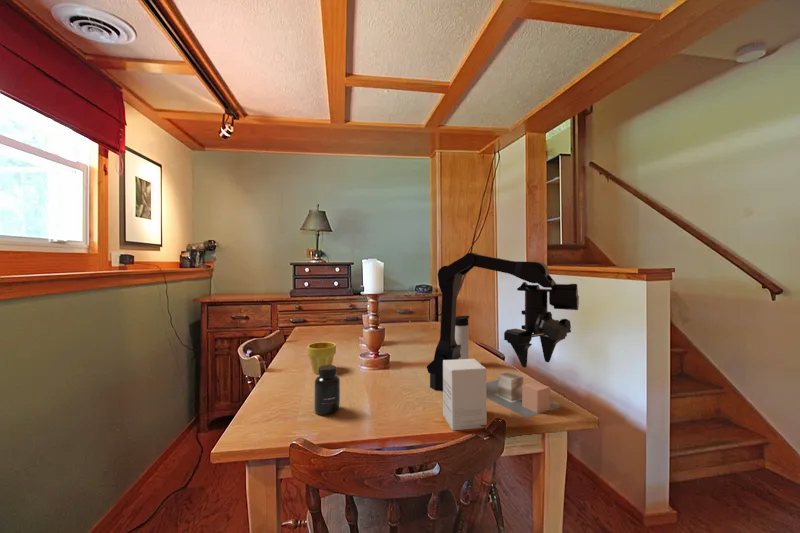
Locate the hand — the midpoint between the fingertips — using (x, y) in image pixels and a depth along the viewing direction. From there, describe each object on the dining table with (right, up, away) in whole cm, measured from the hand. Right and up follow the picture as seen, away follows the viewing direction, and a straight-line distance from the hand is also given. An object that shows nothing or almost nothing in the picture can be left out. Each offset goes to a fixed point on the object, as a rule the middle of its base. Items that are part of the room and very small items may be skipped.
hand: (536, 364), depth 93 cm
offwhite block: (-4, -12, +8) cm, 15 cm away
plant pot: (-67, -13, +34) cm, 76 cm away
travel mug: (-14, -12, +38) cm, 42 cm away
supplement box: (-21, -13, -6) cm, 25 cm away
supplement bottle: (-57, -13, +1) cm, 59 cm away
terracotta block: (0, -12, 0) cm, 12 cm away
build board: (-4, -13, +8) cm, 16 cm away
